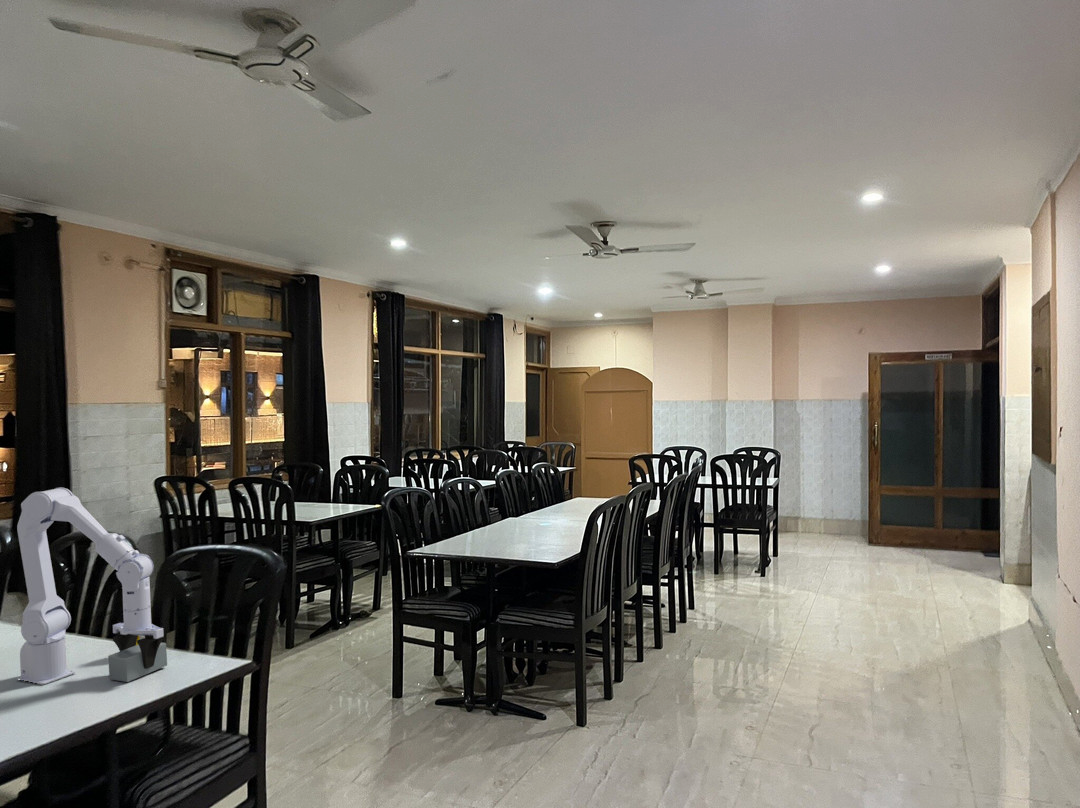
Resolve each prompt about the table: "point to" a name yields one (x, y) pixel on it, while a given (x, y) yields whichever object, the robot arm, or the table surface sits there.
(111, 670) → the grey rectangular block
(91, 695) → the table surface
